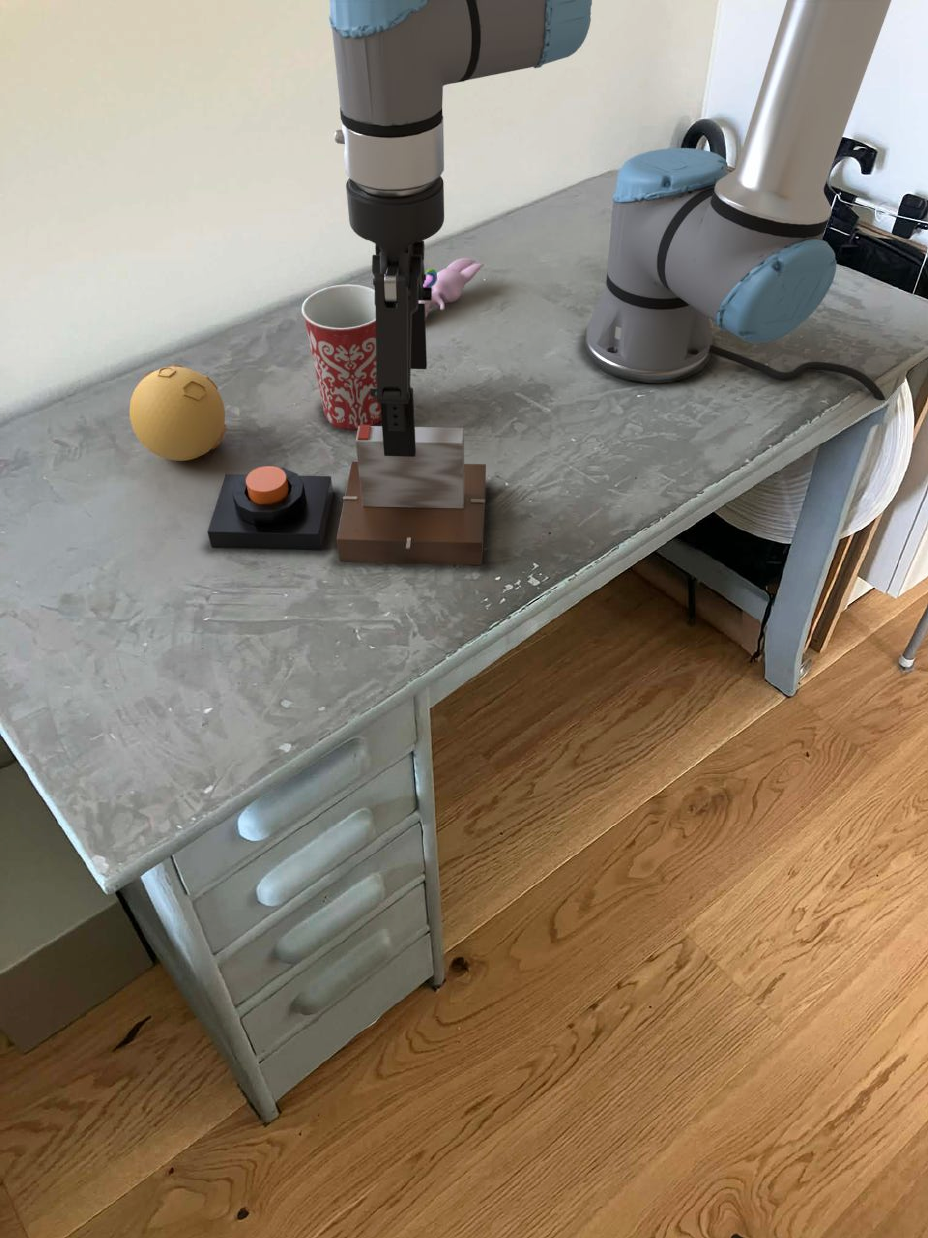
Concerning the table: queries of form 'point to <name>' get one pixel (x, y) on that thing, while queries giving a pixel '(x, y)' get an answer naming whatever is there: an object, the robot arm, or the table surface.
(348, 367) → the mug
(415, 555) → the plate
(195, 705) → the table surface
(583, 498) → the table surface
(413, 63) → the robot arm
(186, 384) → the stress ball
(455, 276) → the rabbit figure
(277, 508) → the button housing
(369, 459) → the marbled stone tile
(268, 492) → the button
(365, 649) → the table surface
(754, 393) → the table surface
